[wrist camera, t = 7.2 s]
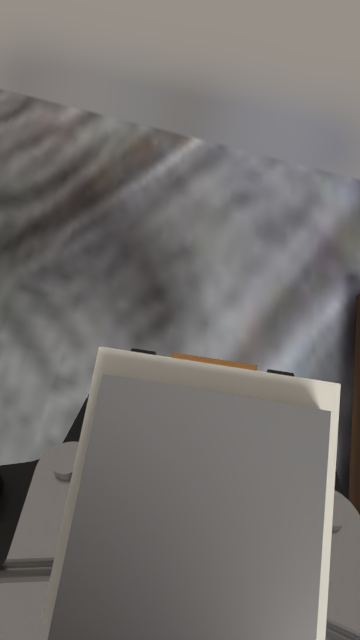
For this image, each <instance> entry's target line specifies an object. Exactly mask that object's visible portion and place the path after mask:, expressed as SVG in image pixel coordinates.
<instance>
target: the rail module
mask: <svg viewBox="0 0 360 640" xmlns="http://www.w3.org/2000/svg"><path fill="white" fill-rule="evenodd" d="M256 370H257V365H250V364H244V363H237V362H231V361H224V360H218V359H211V358H205V357H198V356H192V355H185V354H179V353H172V358H171V357H164V356H158V355H152V354H145V353H139V352H132V351H126V350H119V349H113V348H107V347H100V346H99V350H98V355H97V360H96V364H95V369H94V374H93V378H92V383H91V388H90V392H89V397H88V402H87V407H86V411H85V416H84V421H83V425H82V430H81V435H80V439H79V444H78V449H77V454H76V458H75V463H74V468H73V472H72V477H71V482H70V486H69V491H68V496H67V501H66V505H65V510H64V515H63V519H62V524H61V529H60V534H59V538H58V543H57V548H56V552H55V557H54V562H53V566H52V571H51V576H50V581H49V585H48V590H47V595H46V599H45V604H44V609H43V613H42V618H41V622H43V623H47V624H51V625H50V630H49V635H48V640H325V636H326V620H327V603H328V587H329V570H330V554H331V537H332V520H333V504H334V487H335V471H336V454H337V438H338V421H339V405H340V388H341V384H338V383H332V382H325V381H319V380H312V379H306V378H300V377H293V376H287V375H280V374H274V373H267V372H261V371H256Z"/></svg>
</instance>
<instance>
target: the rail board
mask: <svg viewBox="0 0 360 640" xmlns="http://www.w3.org/2000/svg"><path fill="white" fill-rule="evenodd" d="M348 500H349V501H350V502H351V503H352V505H353V506H354V507H355V508H356V510H357V511H358V513H359V515H360V294H359V295H357V307H356V331H355V355H354V378H353V402H352V426H351V450H350V474H349V497H348Z"/></svg>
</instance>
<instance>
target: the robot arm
mask: <svg viewBox="0 0 360 640" xmlns="http://www.w3.org/2000/svg"><path fill="white" fill-rule="evenodd" d="M131 351H132V352H139V353H145V354H152V355H156V353H155V352H153V351H147V350H140V349H131ZM267 373H274V374H280V375H287V376H293V377H294V374H293V373H289V372H282V371H276V370H269V369H268V370H267ZM88 397H89V395H88ZM87 402H88V398H86V400H85V402H84V404H83V406H82V408H81V410H80V412H79V414H78V415H77V417H76V419H75V421H74V423H73V425H72V427H71V429H70V431H69V432H68V434H67V436H66V438H65V440H64V441H63V443H62V444H59V445H57V446H55V447H53V448H51V449H50V450H48V451H47V452H46V453H45V454H44V455H43V456H42V457H41V458H40V459H39V460H35V461H32V462H26V463H18V464H10V465H1V466H0V640H48V635H49V630H50V625H51V624H47V623H43V622H41V618H42V613H43V609H44V604H45V599H46V595H47V590H48V585H49V581H50V576H51V571H52V566H53V562H54V557H55V552H56V548H57V543H58V538H59V534H60V529H61V524H62V519H63V515H64V510H65V505H66V501H67V496H68V491H69V486H70V482H71V477H72V472H73V468H74V463H75V458H76V454H77V449H78V444H79V439H80V435H81V430H82V425H83V421H84V416H85V411H86V407H87ZM325 640H360V515H359V513H358V511H357V510H356V508H355V507H354V506H353V505H352V503H351V502H350V501H349V500H348V499H347V498H346V497H344V495H343V493H342V490H341V487H340V483H339V479H338V475H337V471H335V487H334V504H333V520H332V537H331V554H330V570H329V587H328V603H327V620H326V636H325Z"/></svg>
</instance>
